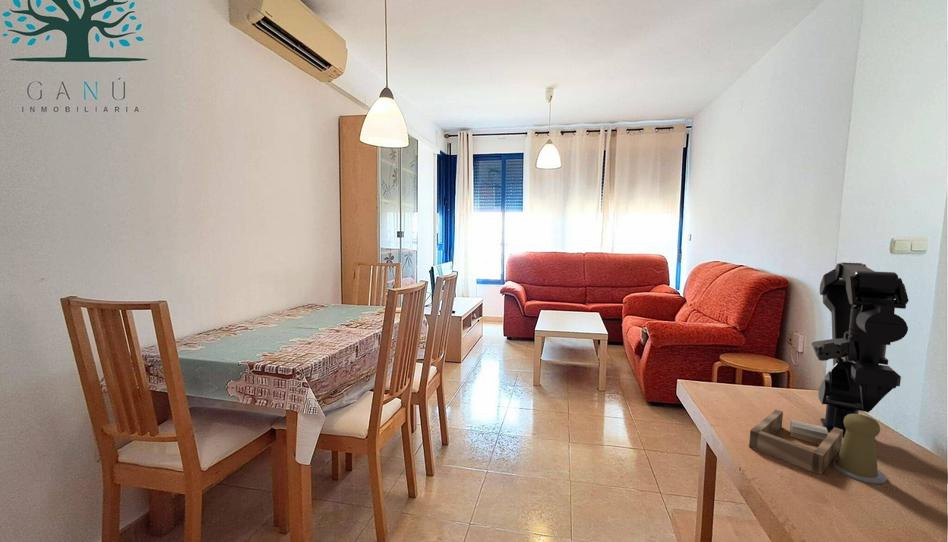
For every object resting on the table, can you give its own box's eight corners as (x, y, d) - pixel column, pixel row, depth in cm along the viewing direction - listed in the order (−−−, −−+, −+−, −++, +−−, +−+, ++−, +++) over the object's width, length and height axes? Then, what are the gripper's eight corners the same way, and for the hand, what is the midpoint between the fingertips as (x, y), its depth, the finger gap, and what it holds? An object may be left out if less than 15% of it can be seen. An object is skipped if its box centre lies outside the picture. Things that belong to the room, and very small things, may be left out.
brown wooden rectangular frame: (774, 424, 97) (775, 409, 97) (841, 446, 87) (843, 429, 87) (749, 447, 87) (750, 430, 87) (821, 474, 77) (823, 456, 77)
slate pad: (829, 456, 83) (829, 454, 83) (879, 468, 79) (879, 466, 79) (837, 475, 77) (838, 472, 77) (892, 489, 73) (892, 486, 73)
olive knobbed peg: (834, 467, 79) (839, 416, 77) (838, 456, 83) (843, 407, 81) (877, 482, 74) (883, 427, 73) (878, 469, 78) (885, 417, 77)
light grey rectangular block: (790, 430, 95) (791, 419, 94) (828, 440, 90) (829, 428, 90) (789, 437, 92) (790, 425, 91) (830, 448, 87) (831, 435, 87)
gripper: (809, 317, 93) (803, 379, 95) (826, 335, 78) (818, 409, 79) (874, 323, 87) (867, 390, 89) (906, 344, 72) (896, 424, 73)
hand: (860, 402), depth 83 cm, fingers open, 9 cm apart
